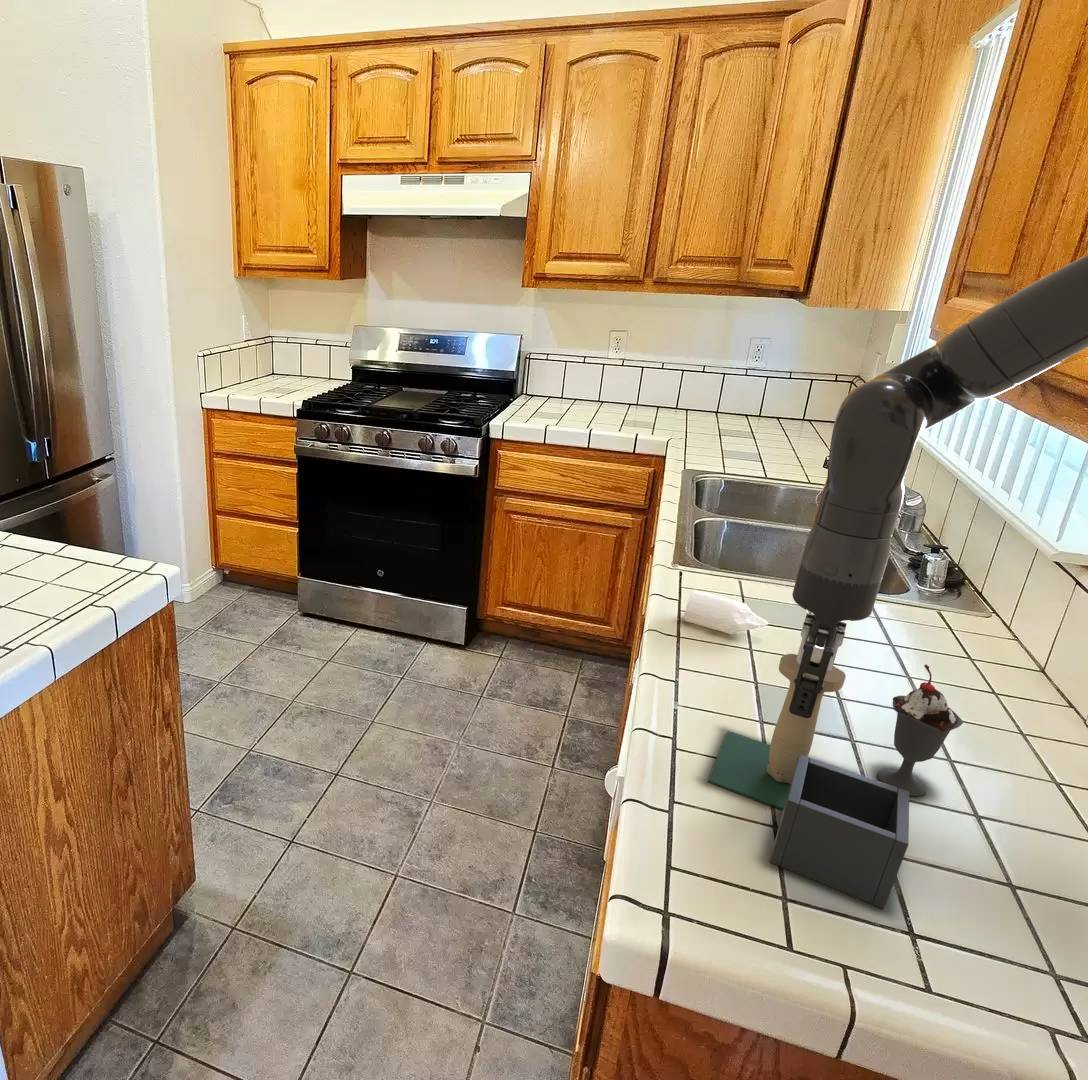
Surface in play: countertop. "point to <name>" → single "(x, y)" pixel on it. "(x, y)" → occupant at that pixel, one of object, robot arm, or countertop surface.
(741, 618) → the white tapered piece
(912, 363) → the robot arm
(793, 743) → the handle
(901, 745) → the sundae
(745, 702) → the countertop surface
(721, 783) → the mat
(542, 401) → the countertop surface
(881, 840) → the grey box
